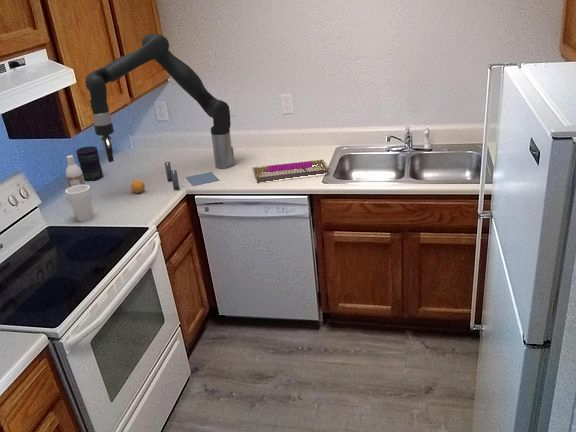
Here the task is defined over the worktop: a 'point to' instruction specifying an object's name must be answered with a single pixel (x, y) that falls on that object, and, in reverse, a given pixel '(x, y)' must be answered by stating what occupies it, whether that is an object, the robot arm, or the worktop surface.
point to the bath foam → (74, 173)
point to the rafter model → (289, 167)
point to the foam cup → (80, 201)
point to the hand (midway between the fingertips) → (111, 161)
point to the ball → (137, 186)
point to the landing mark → (202, 178)
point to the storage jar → (89, 163)
